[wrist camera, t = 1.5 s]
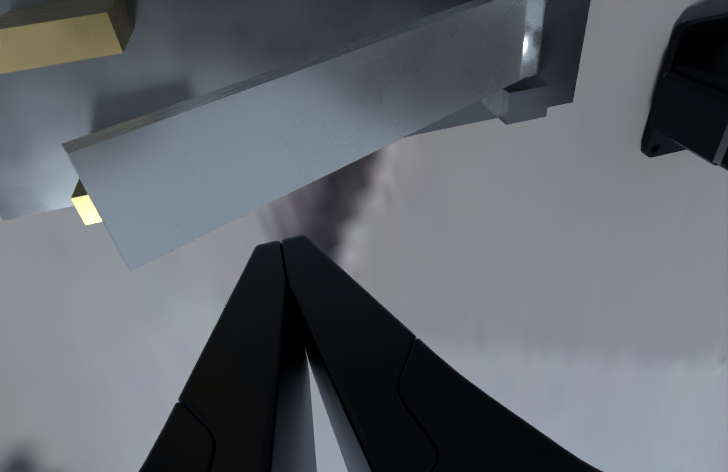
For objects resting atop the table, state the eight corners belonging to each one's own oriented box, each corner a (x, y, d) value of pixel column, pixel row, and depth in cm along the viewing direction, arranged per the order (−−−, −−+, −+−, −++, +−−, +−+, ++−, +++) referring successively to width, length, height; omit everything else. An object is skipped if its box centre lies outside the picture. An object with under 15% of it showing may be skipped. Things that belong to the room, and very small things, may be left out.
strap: (526, -22, 17) (555, -19, 16) (518, 67, 18) (543, 73, 18) (57, 139, 10) (71, 158, 9) (119, 253, 12) (133, 276, 11)
